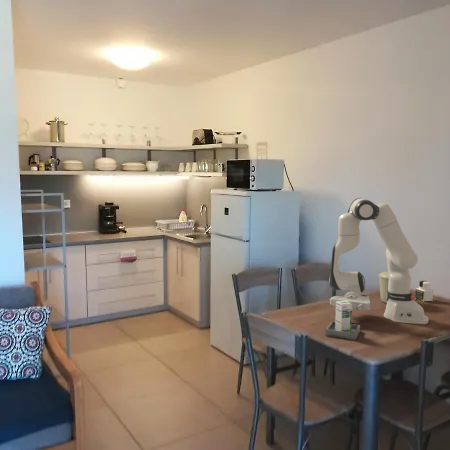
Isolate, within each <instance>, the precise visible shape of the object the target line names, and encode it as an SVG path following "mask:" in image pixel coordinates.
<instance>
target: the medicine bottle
mask: <svg viewBox="0 0 450 450" xmlns="http://www.w3.org/2000/svg"><path fill="white" fill-rule="evenodd" d="M430 288H431V282H430V281H428V280H420V281H419V285H418V287H415V294H414V300H416V299H418V300H420V301H419V302H421V301H423V302H422V303H425V302H424V301H432V302H433V299H434V298H433V297H434V295H433V294H434V290H433V289H430ZM418 300H417V301H418Z"/></svg>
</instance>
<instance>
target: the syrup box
mask: <svg viewBox="0 0 450 450" xmlns="http://www.w3.org/2000/svg"><path fill="white" fill-rule="evenodd" d="M352 316H353V309H352V303H351V302H349V301H336V306H335V320H334V322H335V330H336V331H343V332H350V333H351V325H352V324H353V323H352V321H353V319H352V318H353V317H352Z"/></svg>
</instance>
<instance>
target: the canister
mask: <svg viewBox="0 0 450 450" xmlns="http://www.w3.org/2000/svg"><path fill="white" fill-rule="evenodd" d="M377 277H378V280H379V294H380V300H381V302H383V303H385V304H387V291H388V282H389V274H388V270H387V271H381V272H380V273H378V274H377Z"/></svg>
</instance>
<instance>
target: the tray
mask: <svg viewBox="0 0 450 450" xmlns="http://www.w3.org/2000/svg"><path fill="white" fill-rule="evenodd" d="M360 332H361V325H360V324H354V323H352V325H351V333H350V332H343V331H336V330H335V320H334V321H330V323H329V324H328V325H327V327H326V329H325V332H324V333H325V334H324V335H325V336H326V337H332V338H339V339H344V338H345V340H352V341H356V340H357V338H358V336H359V334H360Z"/></svg>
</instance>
